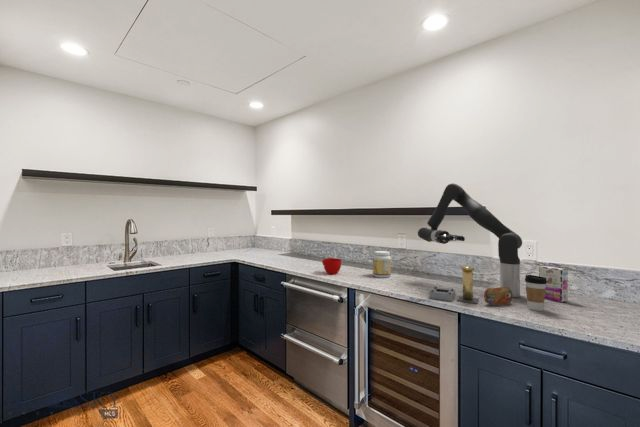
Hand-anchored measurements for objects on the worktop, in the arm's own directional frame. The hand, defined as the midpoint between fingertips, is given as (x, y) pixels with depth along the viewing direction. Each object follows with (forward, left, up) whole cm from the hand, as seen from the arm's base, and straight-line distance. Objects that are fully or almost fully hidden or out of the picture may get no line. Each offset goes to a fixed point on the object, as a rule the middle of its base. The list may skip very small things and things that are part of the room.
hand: (456, 239), depth 165 cm
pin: (-6, +8, -29) cm, 31 cm away
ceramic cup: (+86, -15, -30) cm, 92 cm away
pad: (-6, +8, -30) cm, 32 cm away
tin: (-19, +7, -30) cm, 37 cm away
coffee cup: (-34, +6, -30) cm, 46 cm away
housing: (+6, +9, -30) cm, 32 cm away
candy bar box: (-43, -18, -30) cm, 56 cm away
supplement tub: (+51, -25, -30) cm, 64 cm away
